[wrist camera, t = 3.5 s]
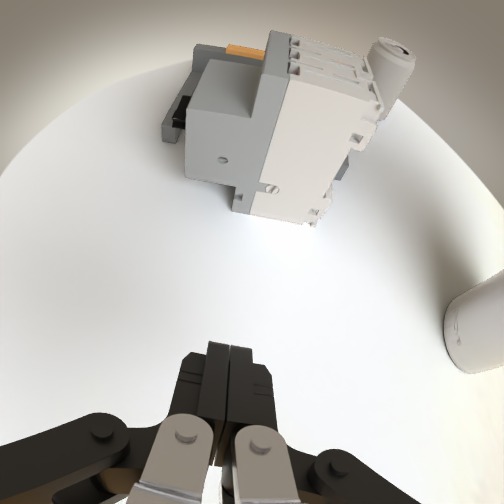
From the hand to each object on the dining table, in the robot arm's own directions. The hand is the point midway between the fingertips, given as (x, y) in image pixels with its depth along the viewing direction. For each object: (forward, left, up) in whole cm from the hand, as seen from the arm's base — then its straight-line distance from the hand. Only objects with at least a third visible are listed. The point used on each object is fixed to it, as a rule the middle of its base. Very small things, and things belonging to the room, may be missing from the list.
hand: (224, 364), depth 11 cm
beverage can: (-15, -39, -14) cm, 44 cm away
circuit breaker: (0, -19, -14) cm, 24 cm away
